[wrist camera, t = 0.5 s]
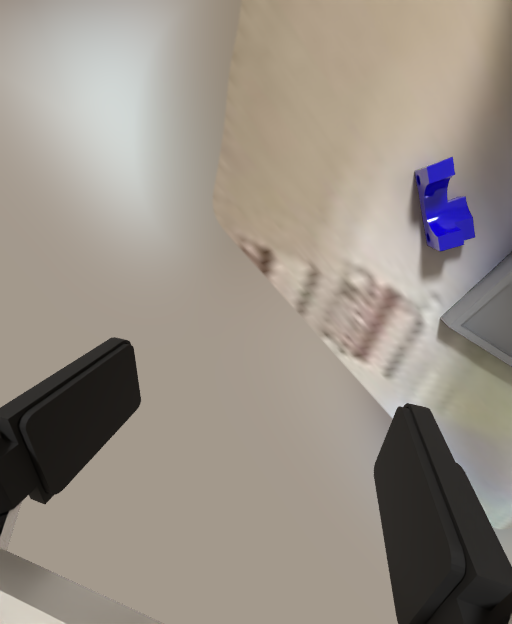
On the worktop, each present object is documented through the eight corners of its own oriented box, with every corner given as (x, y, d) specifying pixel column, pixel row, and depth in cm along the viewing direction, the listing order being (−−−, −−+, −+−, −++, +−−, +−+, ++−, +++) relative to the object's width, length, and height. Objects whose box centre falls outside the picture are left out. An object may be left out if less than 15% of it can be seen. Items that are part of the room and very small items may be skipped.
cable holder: (463, 234, 28) (482, 239, 24) (426, 245, 29) (440, 251, 26) (453, 155, 26) (473, 148, 22) (414, 170, 27) (426, 166, 23)
